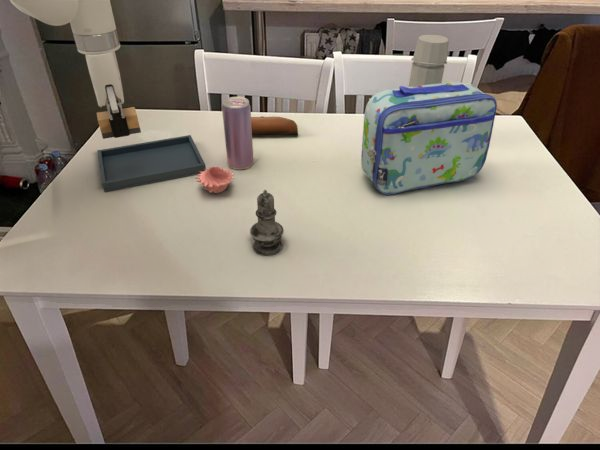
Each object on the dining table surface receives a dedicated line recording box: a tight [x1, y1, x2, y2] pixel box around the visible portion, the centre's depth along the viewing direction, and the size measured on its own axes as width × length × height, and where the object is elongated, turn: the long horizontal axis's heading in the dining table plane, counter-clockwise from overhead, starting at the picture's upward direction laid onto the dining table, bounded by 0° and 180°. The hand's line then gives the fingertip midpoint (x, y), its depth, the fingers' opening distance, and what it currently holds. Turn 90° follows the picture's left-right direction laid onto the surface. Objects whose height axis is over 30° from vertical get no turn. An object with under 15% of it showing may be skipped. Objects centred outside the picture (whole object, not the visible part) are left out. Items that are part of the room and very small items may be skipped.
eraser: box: [96, 106, 142, 140], centre depth 96 cm, size 8×4×4 cm, turn 112°
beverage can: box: [221, 96, 255, 171], centre depth 102 cm, size 6×6×15 cm
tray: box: [96, 134, 207, 193], centre depth 105 cm, size 22×16×2 cm
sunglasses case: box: [251, 115, 299, 136], centre depth 119 cm, size 18×7×7 cm
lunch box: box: [360, 82, 498, 196], centre depth 95 cm, size 26×11×21 cm, turn 104°
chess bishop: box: [249, 189, 284, 257], centre depth 80 cm, size 6×6×12 cm
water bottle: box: [408, 34, 450, 87], centre depth 109 cm, size 9×8×25 cm
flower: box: [195, 166, 235, 194], centre depth 96 cm, size 8×8×6 cm
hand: (120, 130), depth 97 cm, fingers closed on eraser, 4 cm apart
